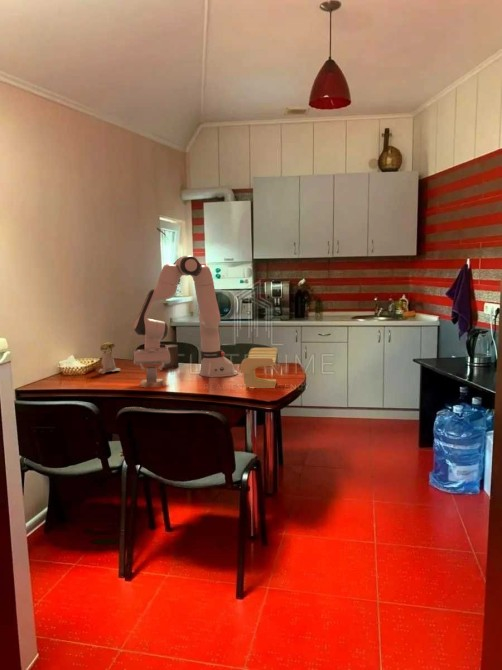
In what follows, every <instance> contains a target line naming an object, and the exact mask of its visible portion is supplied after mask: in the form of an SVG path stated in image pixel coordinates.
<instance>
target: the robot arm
mask: <svg viewBox="0 0 502 670" xmlns="http://www.w3.org/2000/svg"><path fill="white" fill-rule="evenodd" d="M182 276H186V277H187V276H190V277H192V279H193V282H194V288H195V289H194V291H195V296H196V301H197V305H198V310H199V314H198V321H199V322H198V323H199V332H200V333H199V334H200V360H201V361H200V368H199V369H200V370H199V375H200V376H202V377H208V378H219V377H220V378H221V377H222V378H223V377H230V376H231V377H232V376H237V375H238V370H236V369H235V367H234V364H233V362H232V361H231V360H230V359H228V358H227V357H225V354H226V353H225V352H224V351H223V350H222V349H221V337H220V331H219V324H220V323H221V312H220V309H219V304H218V300H217V296H216V295H217V294H216V290H215V283H214V279H213V278H214V277H213V275H212V271H211V269H210V267H209V266H207V265H205V264H204V265H202V263H200V262H199V260H198V259H197V258H196V257H195V256H193V255H183V256H181V257H178V258H177V259H176V260H175V262H174V263H173V264H172V263H167V264H165V265H163V267H162V269H161V271H160V274H159V275H158V281H157V283H156V285H155V287H154V288H153V289H151V290H149V292H148V294H147V295H146V298H145V300H144V303H143V304H142V308H141V309H140V312H139V314H138V316H137V319H135V322H134V325H133V330H134V332H135V333H136V334H137V335H138V336H144V340H145V342H144V349H136V350H134V351H133V364H134V365H135V366H140V367H141V371H142V372H145V371H146V368H145V366H144V365H159V368H158V369H159V371H162V370H163V368H164V364H169V363H170V362H171V359H170V353H169V350H168V346H167V345H168V344H164V343H161V341H162V340H164V339H165V338H166V337H167V335H168V329H169V326H168V324H167V322H166V321H163V320H158V319H153V318H148V315H149V313H150V311H151V308H152V306H153V305H154V304H155V302H159V301H166V300H169V299H171V298H173V297H174V296H175V295H176V292H177V289H178V285H179V280H180V278H181V277H182Z"/></svg>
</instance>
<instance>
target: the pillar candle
mask: <svg viewBox="0 0 502 670" xmlns="http://www.w3.org/2000/svg"><path fill="white" fill-rule="evenodd" d="M166 345H167V346H168V350H169V353H170V359H171V362H170V363H169V364H164V366H163V368H164V369H176V368H179V367H180V366H179V365H180V364H179V347H178V344H166Z"/></svg>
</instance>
